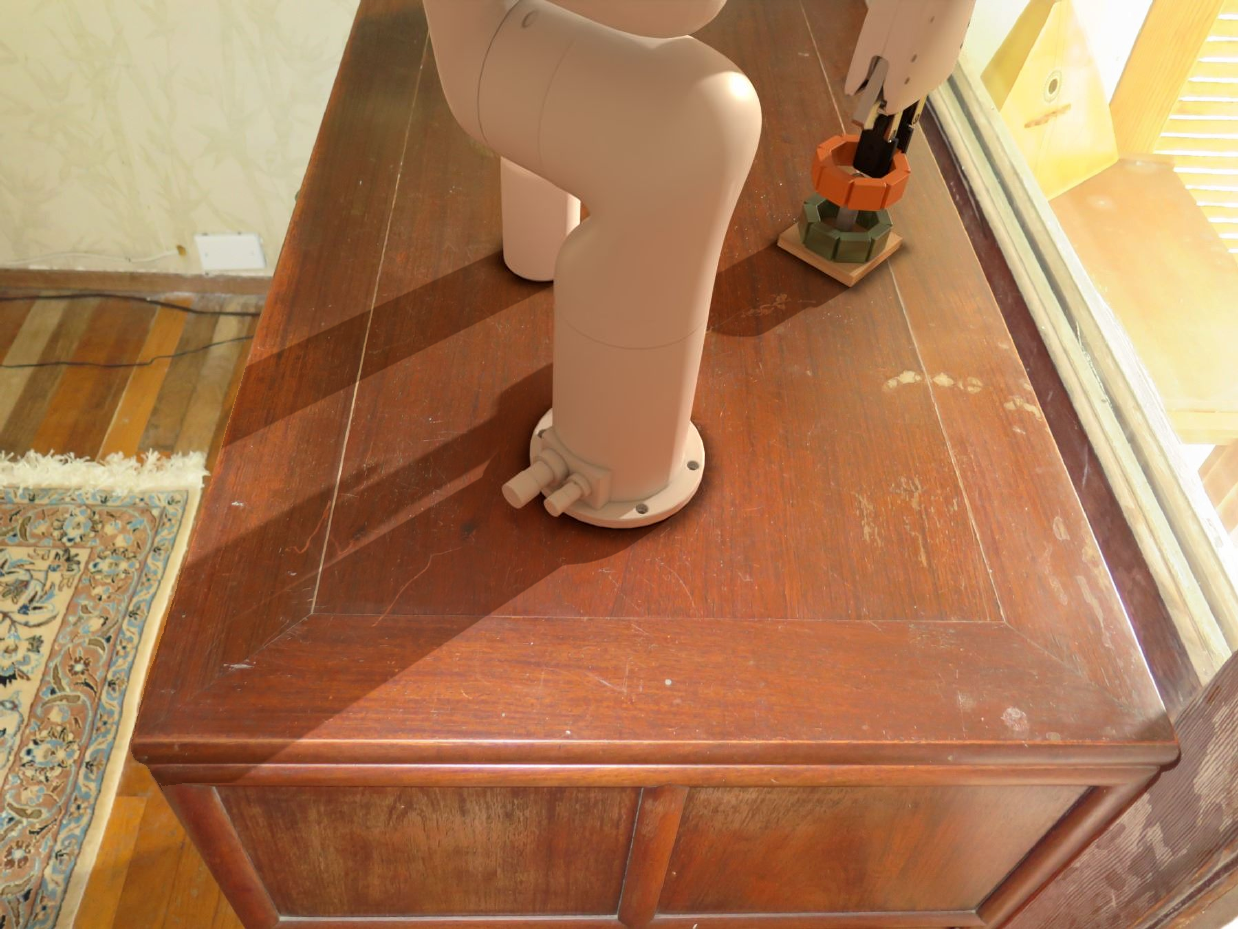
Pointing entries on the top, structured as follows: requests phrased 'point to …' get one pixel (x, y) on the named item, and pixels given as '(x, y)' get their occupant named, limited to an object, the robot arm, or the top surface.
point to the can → (534, 221)
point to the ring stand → (840, 238)
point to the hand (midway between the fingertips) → (876, 167)
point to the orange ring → (856, 189)
